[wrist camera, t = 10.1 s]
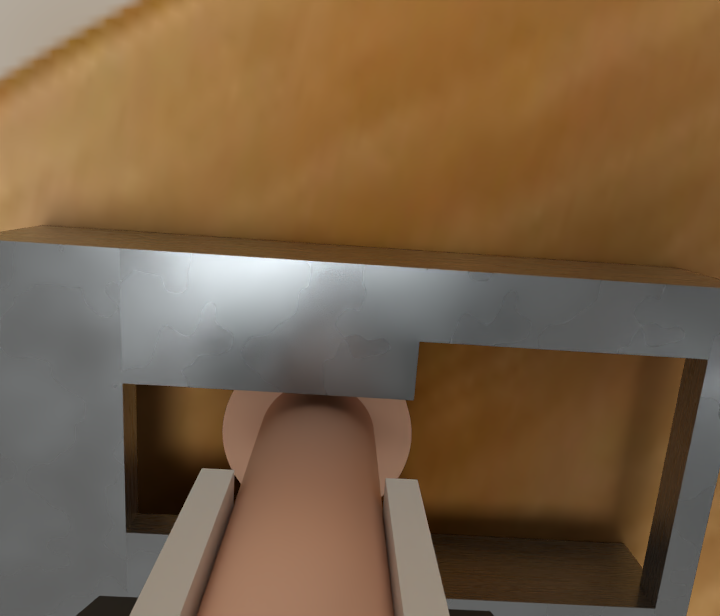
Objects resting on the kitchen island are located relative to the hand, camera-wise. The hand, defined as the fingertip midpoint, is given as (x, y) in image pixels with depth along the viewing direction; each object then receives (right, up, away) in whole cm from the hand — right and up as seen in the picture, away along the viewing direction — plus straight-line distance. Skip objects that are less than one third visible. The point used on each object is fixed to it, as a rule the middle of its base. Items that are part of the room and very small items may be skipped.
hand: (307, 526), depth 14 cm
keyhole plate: (+1, +1, +7) cm, 7 cm away
